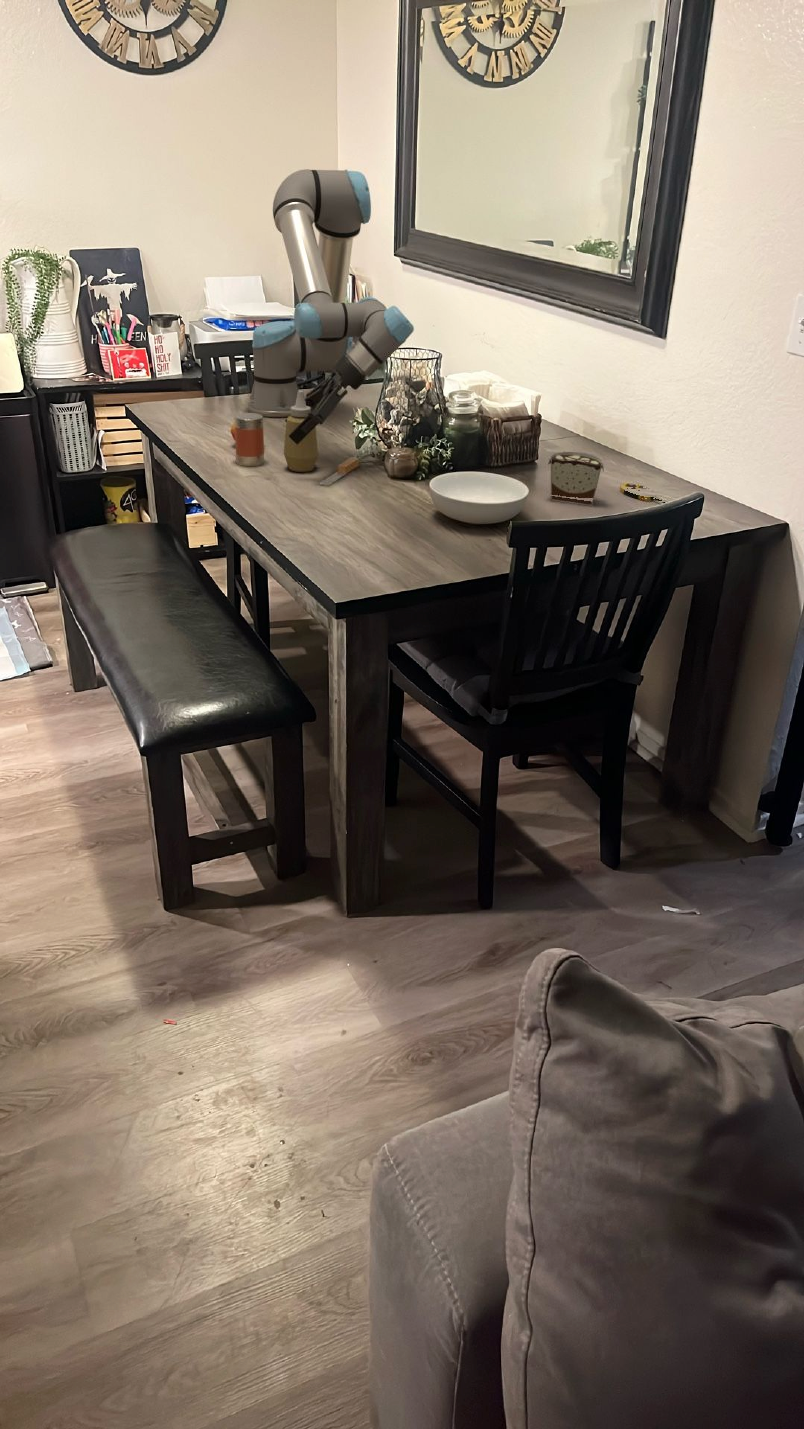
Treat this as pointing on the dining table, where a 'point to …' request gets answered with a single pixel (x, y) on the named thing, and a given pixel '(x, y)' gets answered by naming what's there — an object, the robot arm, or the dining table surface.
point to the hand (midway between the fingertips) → (290, 432)
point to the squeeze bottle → (307, 449)
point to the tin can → (249, 439)
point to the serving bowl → (478, 496)
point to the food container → (574, 476)
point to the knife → (341, 471)
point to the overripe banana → (635, 494)
